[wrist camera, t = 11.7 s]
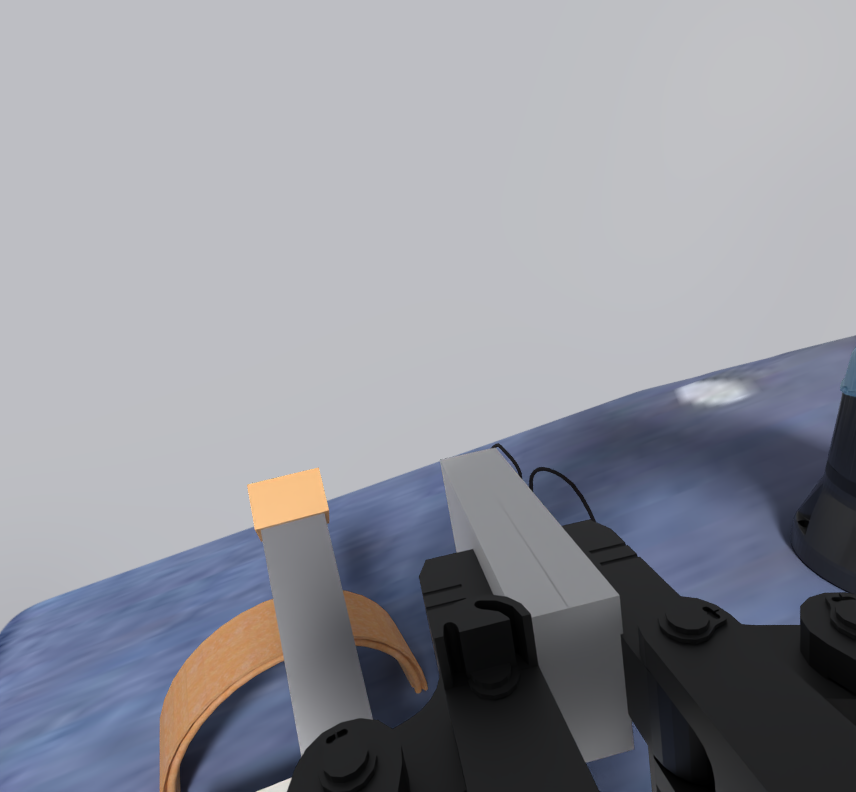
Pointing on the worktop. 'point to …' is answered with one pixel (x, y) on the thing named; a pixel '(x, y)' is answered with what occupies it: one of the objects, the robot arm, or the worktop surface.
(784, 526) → the worktop surface
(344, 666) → the lever
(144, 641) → the worktop surface
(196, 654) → the arch
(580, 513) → the worktop surface
